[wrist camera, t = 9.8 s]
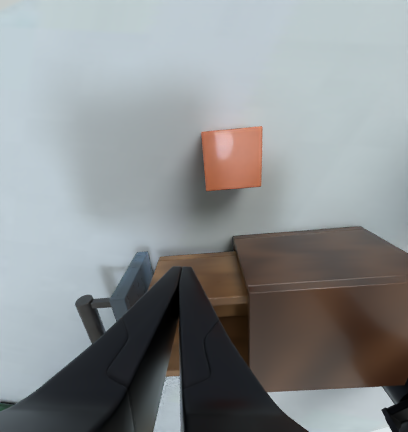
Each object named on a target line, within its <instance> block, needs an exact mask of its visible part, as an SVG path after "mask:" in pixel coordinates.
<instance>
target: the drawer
mask: <svg viewBox="0 0 408 432" xmlns="http://www.w3.org/2000/svg"><path fill="white" fill-rule="evenodd" d="M172 266H181V267H183V266H187V267H192V268H193V270H194V272H195V274H196V276H197V278H198V280H199V282H200V283H201V285H202V287H203V289H204V291H205V293H206V295H207V297H208V299H209V301H210V303H211V304H212V306H213V308H214V310H215V312H216V314H217V316H218V318H219V320H220V322H221V323H222V325H223V327H224V329H225V331H226V333H227V334H228V336H229V338H230V340H231V341H232V343H233V344H234V346H235V347H236V349H237V350H238V352H239V353H240V355H241V356H242V358H243V359H244V361H245V362H246V364H247V365H248V293H247V289H246V286H245V282H244V279H243V275H242V271H241V268H240V264H239V261H238V257H237V253H236V251H231V252H218V253H204V254H191V255H177V256H164V257H160V258H159V261H158V264H157V266H156V269H155V272H154V274H153V273H152V269H151V264H150V260H149V255H148V252H137V253H136V255H135V257H134V258H133V260H132V262H131V264H130V265H129V267H128V269H127V271H126V272H125V274H124V276H123V277H122V279H121V281H120V283H119V284H118V286H117V288H116V290H115V291H114V293H113V295H112V296H111V298H100V299H93V297H92V296H91V295H84V296H82V297H80V298H79V299H78V300H77V301H76V303H75V305H76V308H77V310H78V312H79V315H80V317H81V319H82V322H83V324H84V326H85V329H86V331H87V333H88V336H89V338H90V340H91V343H92V344H93V343H94V342H95V341H96V340H98V339H99V338H100V337H101V336H102V335H103V334H104V333H105V332H106V331H105V329H104V326H103V323H102V321H101V318H100V315H99V313H98V310H97V308H107V307H112V310H113V313H114V316H115V319H116V322H117V321H118V320H119V319H120V318H122V316H123V315H124V314H125V313H126V312H127V311H128V310H129V309H130V308H131V307H132V306H133V305H134V304H135V303H136V302H137V301H138V300H139V299H140V298H141V297H142V296H143V295H144V294H145V293H146V292H147V291H148V290H149V289H150V288H151V287H152V286H153V285H154V284H155V283H156V282H157V281H158V280H159V279H160V278H161V277H162V276H163V275H164V274H165V273H166V272H167V271H168V270H169V269H170V268H171V267H172ZM167 376H180V367H179V318H178V324H177V328H176V333H175V337H174V342H173V346H172V350H171V355H170V359H169V364H168V368H167V372H166V377H167Z"/></svg>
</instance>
